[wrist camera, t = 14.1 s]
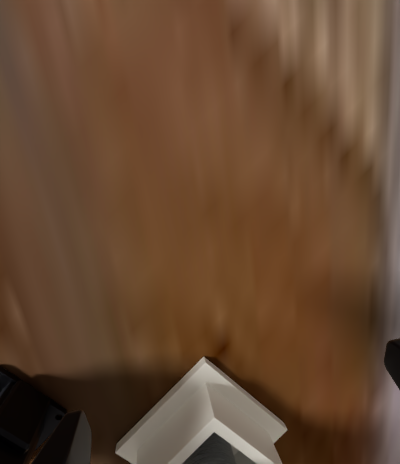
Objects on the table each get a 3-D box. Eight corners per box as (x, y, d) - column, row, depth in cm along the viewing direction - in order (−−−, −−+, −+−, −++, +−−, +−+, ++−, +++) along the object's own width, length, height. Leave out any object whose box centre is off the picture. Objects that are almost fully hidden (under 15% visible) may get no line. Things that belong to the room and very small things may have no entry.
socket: (203, 501, 27) (212, 561, 23) (116, 443, 24) (109, 499, 20) (283, 422, 27) (308, 469, 22) (203, 356, 24) (214, 394, 20)
